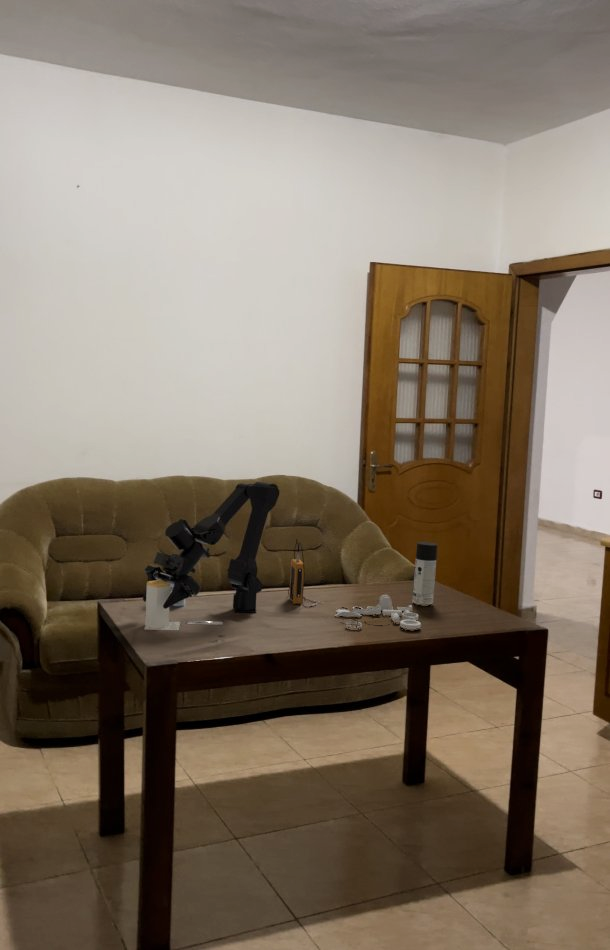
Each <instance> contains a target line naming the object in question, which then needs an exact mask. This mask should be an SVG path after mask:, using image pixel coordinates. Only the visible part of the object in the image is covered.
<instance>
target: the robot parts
mask: <svg viewBox="0 0 610 950" xmlns="http://www.w3.org/2000/svg"><path fill="white" fill-rule="evenodd" d="M378 601H379V603H378V604H377V605H375V606H367V607H366V608H363V607H361V606H358V607H359V608H361V609H359V608H355V607H356V606H353V607H352V608H353V610H352V611H350V609H349V610H346V609H345V608H339V609H338V610H337V609H336V610H335V614H334V617H335V616H346V617H349V616H362V615H360V614H376V615H382V613H383V615H385V614H386V615H388V614H389V615H390V614H391V617H390V619H391V618H392V620H393V621H394V622H400V625H399V627H400V626H401V627H403V628H407V629H416V628H420V627H421V628H422V623H421V622H420V621H416V620H419V614H418V613H415V612H413V604H412V605H411V604H409V605H408V606H406V607H404V606H403V607H402V606H397V607H396V609H394V607H393V601H392V599H391V597H390V596H389V594H382V595H380V597H379V600H378ZM371 608H372V609H371ZM397 609H398V610H397ZM381 610H382V612H381ZM353 611H354V612H353ZM402 611H404V612H402ZM410 611H412V612H410ZM336 612H337V614H336ZM399 615H402V617H399ZM402 619H403V620H402ZM345 623H346V625H345V624H344V626H346V627H349V629H350V628H352V629H354V628H356V629H357V628H359V629H360V627H362V628H363V623H361V621H360V622H357V621H354V624H357V623H358V625H360V626H357V627H356V626H355V625H348V624H352V620H348V621H346V622H345Z"/></svg>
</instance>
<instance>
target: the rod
mask: <svg viewBox="0 0 610 950" xmlns="http://www.w3.org/2000/svg"><path fill="white" fill-rule="evenodd" d="M186 624H187V625H210V626H211V625H215V626H217V625H219V626H220V625H221V626H223V625H224V621H219V620H218V621H213V620H211V621H210V620H186Z"/></svg>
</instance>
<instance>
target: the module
mask: <svg viewBox="0 0 610 950" xmlns="http://www.w3.org/2000/svg"><path fill="white" fill-rule="evenodd" d="M146 587H147V593H146V602H145V623H144V624H145V625H147V626H150V627H153V628H155V629H156V628H160V627H165V626H169V621H170V607H168V608H166V609H165V608H164V607H163V605H164V603H165V601H166V600H167V598H168V597H169V595H170V583H169V582H166V581H163V580H155V581H149V582H148V581H146Z"/></svg>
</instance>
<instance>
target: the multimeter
mask: <svg viewBox="0 0 610 950" xmlns="http://www.w3.org/2000/svg"><path fill="white" fill-rule="evenodd" d="M295 541H296V542H295V544H294V545H295V546H294V551H293V556H294V558H293V559H292V558H291V562H290V577H289V580H290V582H289V587H288V591H287V594H288V596H289V601H291V602H292V604H293V605H302V607H304V608H307V606H305V605H304V600H305V601H310V602H313V601H314V602H313V604H311V605H310V606H309V608H312V607H314V606H316V605H317V604H318V603H320V602H321V604H324V602H323V601H319V600H314V599H307V598H306V597H305V596H304V588H305V587H304V585H305V576H306V575H305V561H304V560H305V559H304V551H303V547H302V543H301V541H299V542H298V538H295ZM296 547H297V551H296ZM300 549H301V556H302V560H301V559H300ZM296 552H297V553H296ZM296 554H297V555H296ZM303 598H304V599H303ZM311 606H312V607H311Z"/></svg>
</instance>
